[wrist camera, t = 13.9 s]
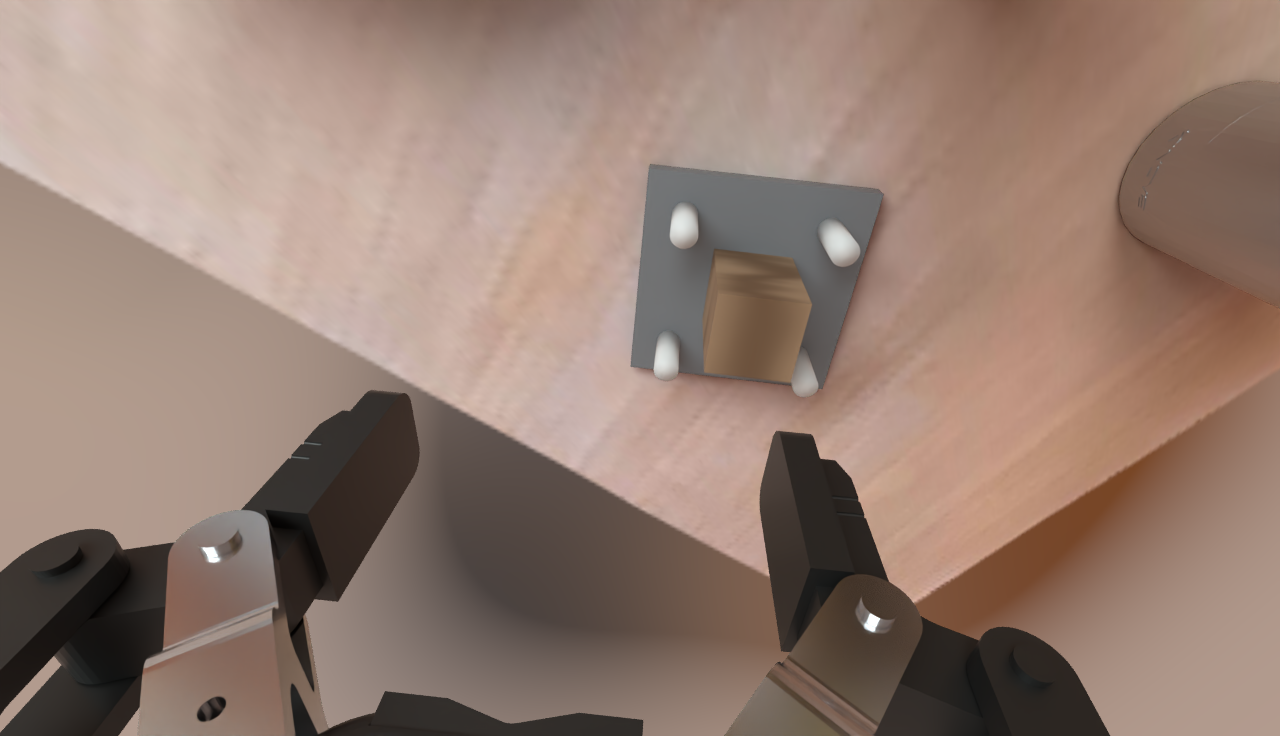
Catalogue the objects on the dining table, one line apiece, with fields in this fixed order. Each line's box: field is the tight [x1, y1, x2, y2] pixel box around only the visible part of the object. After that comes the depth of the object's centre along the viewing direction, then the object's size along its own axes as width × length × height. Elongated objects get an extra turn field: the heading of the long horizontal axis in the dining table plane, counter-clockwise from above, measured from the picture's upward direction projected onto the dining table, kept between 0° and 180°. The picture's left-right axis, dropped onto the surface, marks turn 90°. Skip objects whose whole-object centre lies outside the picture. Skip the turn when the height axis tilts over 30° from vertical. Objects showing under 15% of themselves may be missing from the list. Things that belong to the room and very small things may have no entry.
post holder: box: [631, 164, 884, 397], centre depth 36 cm, size 14×14×5 cm
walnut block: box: [702, 249, 812, 383], centre depth 34 cm, size 5×5×7 cm
